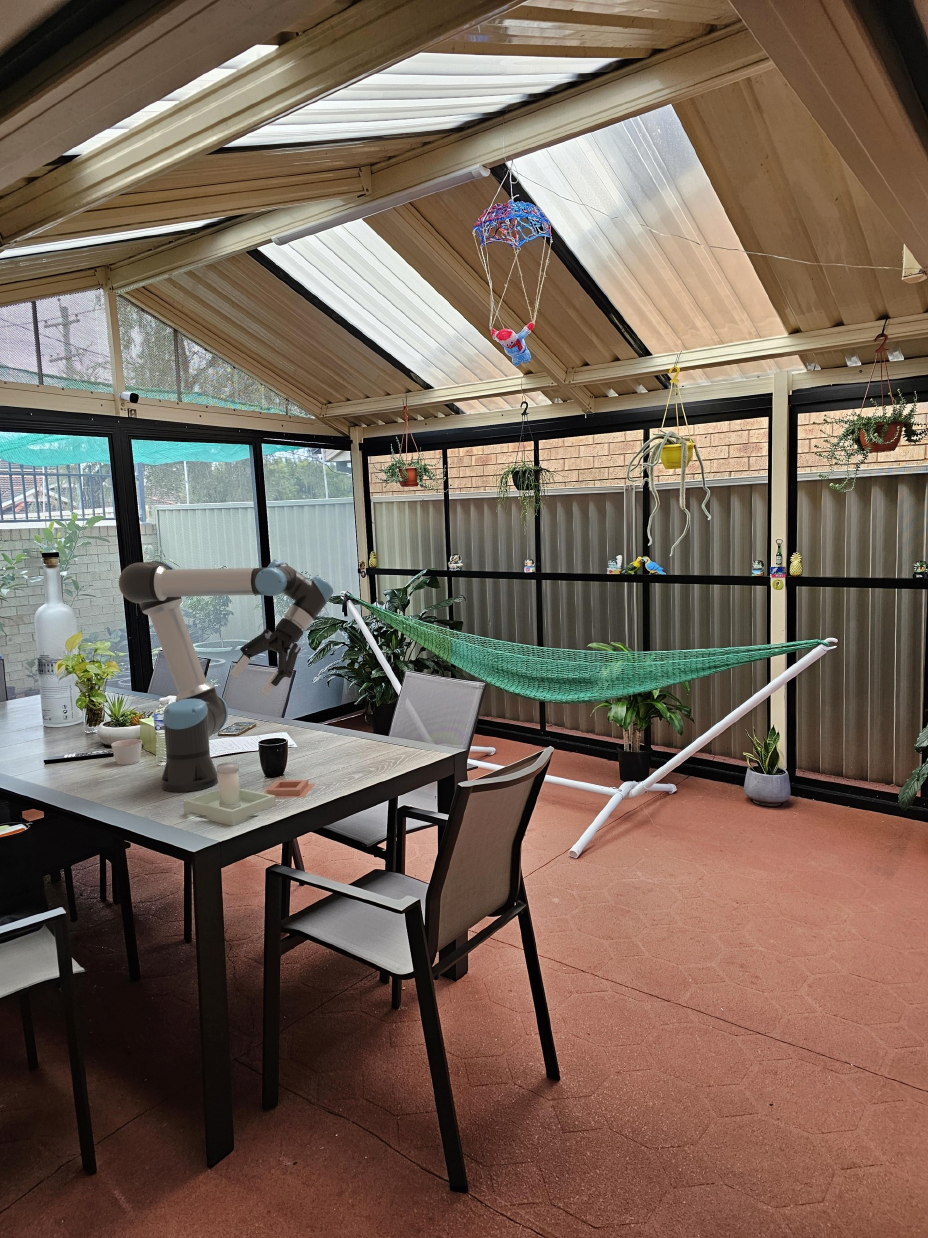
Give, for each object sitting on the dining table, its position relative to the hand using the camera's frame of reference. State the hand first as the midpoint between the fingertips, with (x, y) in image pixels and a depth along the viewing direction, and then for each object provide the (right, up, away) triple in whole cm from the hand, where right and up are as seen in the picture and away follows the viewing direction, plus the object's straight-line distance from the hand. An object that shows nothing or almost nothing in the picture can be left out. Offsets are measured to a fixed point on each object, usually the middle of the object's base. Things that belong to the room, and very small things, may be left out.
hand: (248, 684), depth 234 cm
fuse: (+1, -29, -23) cm, 37 cm away
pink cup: (-45, -27, +29) cm, 60 cm away
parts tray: (+1, -30, -23) cm, 38 cm away
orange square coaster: (+13, -29, -9) cm, 33 cm away
